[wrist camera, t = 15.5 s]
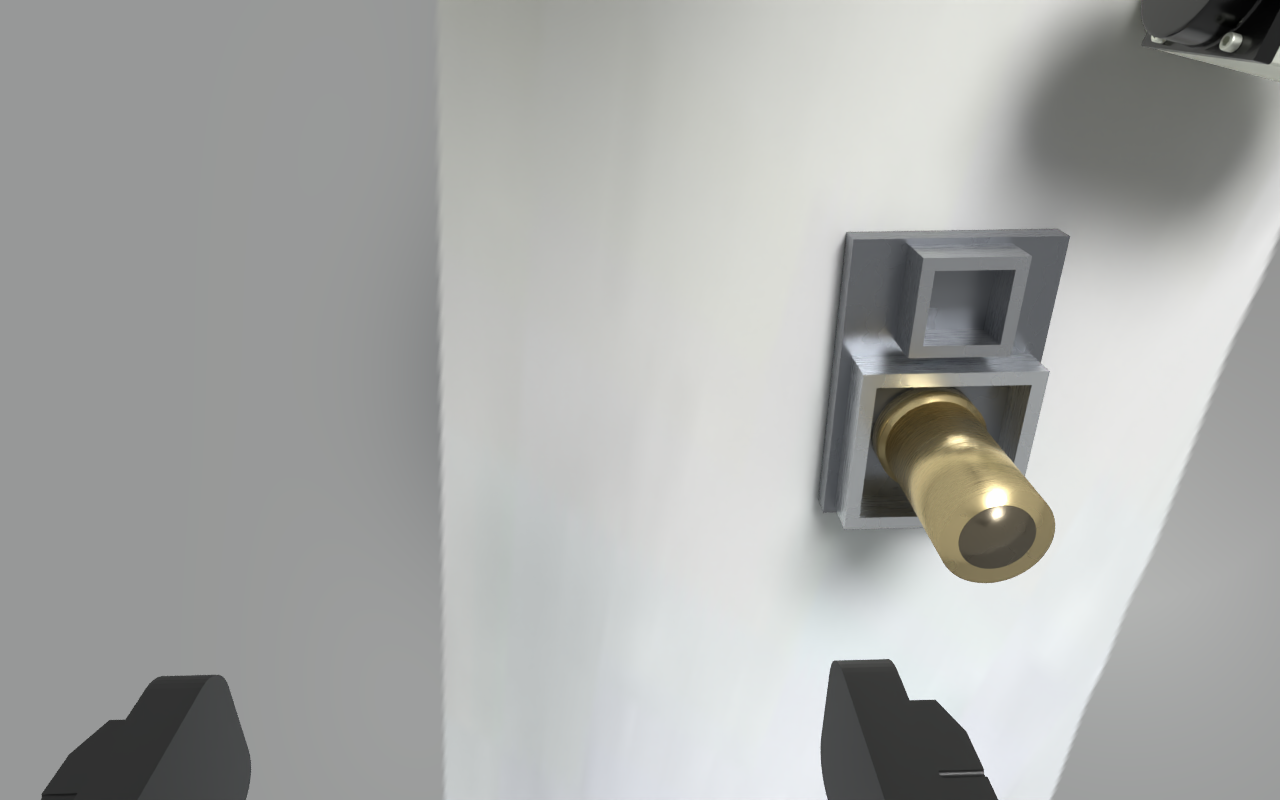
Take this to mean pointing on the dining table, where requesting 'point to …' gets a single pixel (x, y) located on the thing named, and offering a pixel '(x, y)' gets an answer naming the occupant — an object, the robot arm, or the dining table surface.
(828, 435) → the plate
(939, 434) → the brass fitting
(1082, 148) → the dining table surface
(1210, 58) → the pneumatic valve
